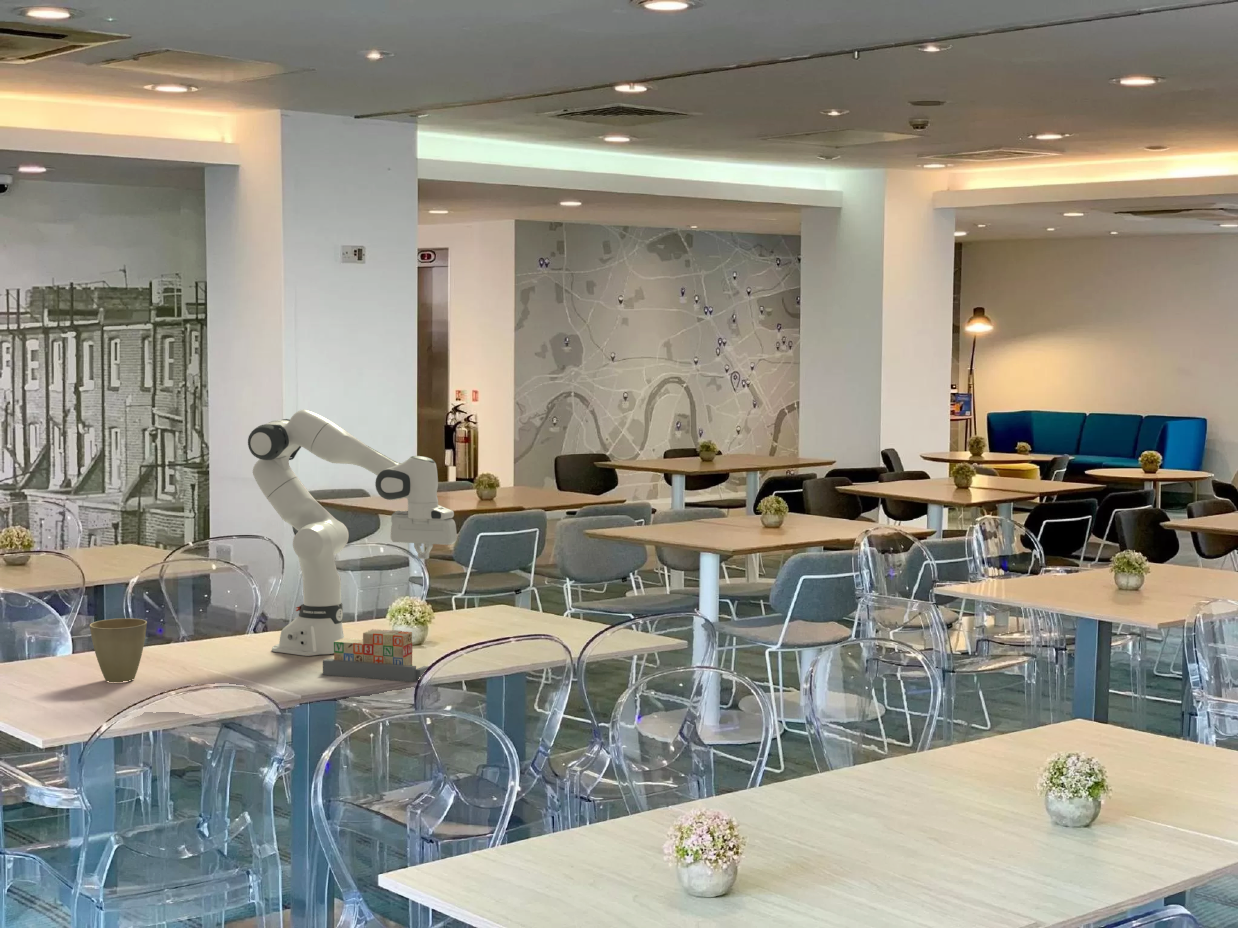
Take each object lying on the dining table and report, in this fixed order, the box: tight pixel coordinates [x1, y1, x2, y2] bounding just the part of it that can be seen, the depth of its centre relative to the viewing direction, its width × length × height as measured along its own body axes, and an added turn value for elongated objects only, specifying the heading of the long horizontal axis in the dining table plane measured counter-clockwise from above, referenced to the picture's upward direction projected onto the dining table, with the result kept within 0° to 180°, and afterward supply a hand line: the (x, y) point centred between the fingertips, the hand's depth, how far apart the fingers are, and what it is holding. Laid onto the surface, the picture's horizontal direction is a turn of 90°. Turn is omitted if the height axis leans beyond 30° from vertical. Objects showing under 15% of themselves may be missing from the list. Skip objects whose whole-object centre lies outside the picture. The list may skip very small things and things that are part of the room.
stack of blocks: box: [333, 628, 413, 666], centre depth 430 cm, size 21×6×12 cm, turn 72°
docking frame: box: [322, 658, 430, 683], centre depth 428 cm, size 30×7×4 cm, turn 70°
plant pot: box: [89, 617, 148, 682], centre depth 421 cm, size 15×15×16 cm
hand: (423, 558), depth 452 cm, fingers closed
